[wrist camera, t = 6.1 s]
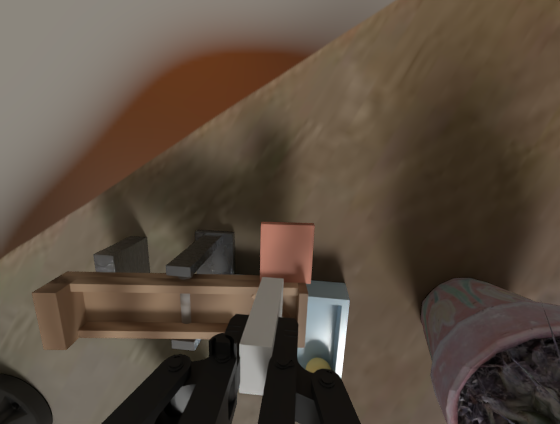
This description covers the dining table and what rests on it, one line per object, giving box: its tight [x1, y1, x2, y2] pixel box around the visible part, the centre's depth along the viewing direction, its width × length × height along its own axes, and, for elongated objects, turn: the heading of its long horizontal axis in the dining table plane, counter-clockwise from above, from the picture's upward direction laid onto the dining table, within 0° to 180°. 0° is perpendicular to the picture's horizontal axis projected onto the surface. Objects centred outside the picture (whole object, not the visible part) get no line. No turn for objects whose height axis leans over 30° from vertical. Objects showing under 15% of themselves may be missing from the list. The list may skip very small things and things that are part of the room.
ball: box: [305, 358, 331, 373], centre depth 35 cm, size 4×4×4 cm
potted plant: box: [421, 278, 560, 424], centre depth 21 cm, size 18×20×25 cm
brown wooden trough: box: [32, 222, 315, 350], centre depth 25 cm, size 24×12×4 cm, turn 88°
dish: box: [236, 274, 350, 378], centre depth 35 cm, size 15×15×4 cm
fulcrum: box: [166, 230, 235, 351], centre depth 31 cm, size 5×10×10 cm, turn 178°
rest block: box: [93, 236, 150, 273], centre depth 34 cm, size 2×6×6 cm, turn 178°
